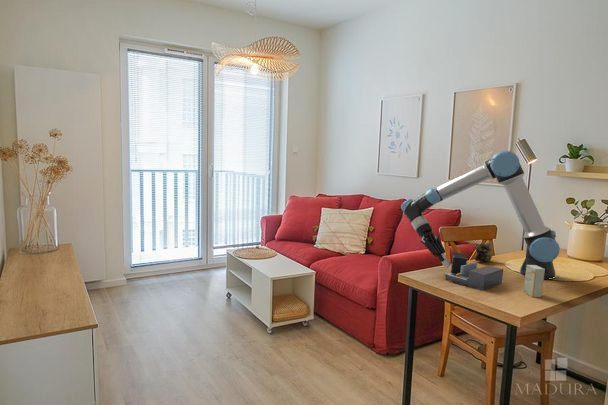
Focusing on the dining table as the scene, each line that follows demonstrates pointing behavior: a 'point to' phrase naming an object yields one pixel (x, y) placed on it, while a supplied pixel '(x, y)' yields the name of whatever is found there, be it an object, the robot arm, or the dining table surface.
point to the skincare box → (533, 280)
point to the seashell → (484, 252)
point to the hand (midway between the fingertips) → (448, 266)
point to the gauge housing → (479, 278)
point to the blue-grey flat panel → (467, 269)
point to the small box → (458, 262)
